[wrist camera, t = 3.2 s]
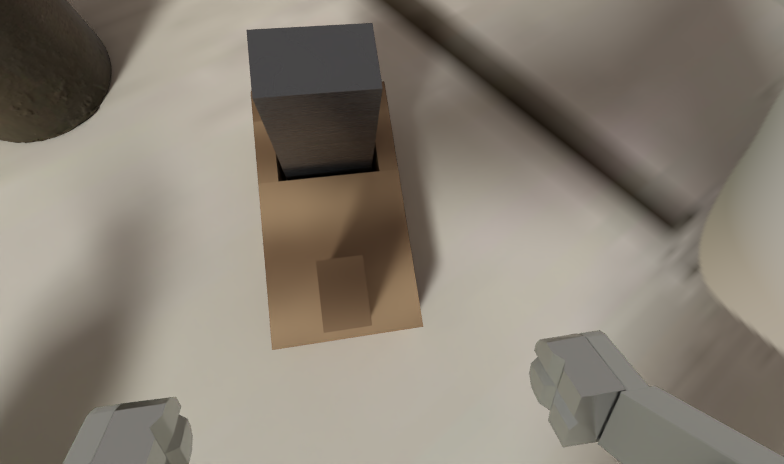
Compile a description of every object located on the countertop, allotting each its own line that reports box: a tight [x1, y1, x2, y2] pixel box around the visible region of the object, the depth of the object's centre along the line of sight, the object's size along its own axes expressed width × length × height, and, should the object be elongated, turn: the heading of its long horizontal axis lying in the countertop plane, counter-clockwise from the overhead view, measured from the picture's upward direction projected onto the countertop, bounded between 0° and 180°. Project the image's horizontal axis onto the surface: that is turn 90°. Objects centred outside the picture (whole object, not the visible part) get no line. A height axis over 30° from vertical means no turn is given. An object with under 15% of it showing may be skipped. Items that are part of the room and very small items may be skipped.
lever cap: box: [247, 23, 383, 181], centre depth 22 cm, size 4×5×12 cm
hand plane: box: [251, 81, 423, 350], centre depth 23 cm, size 15×8×9 cm, turn 8°
